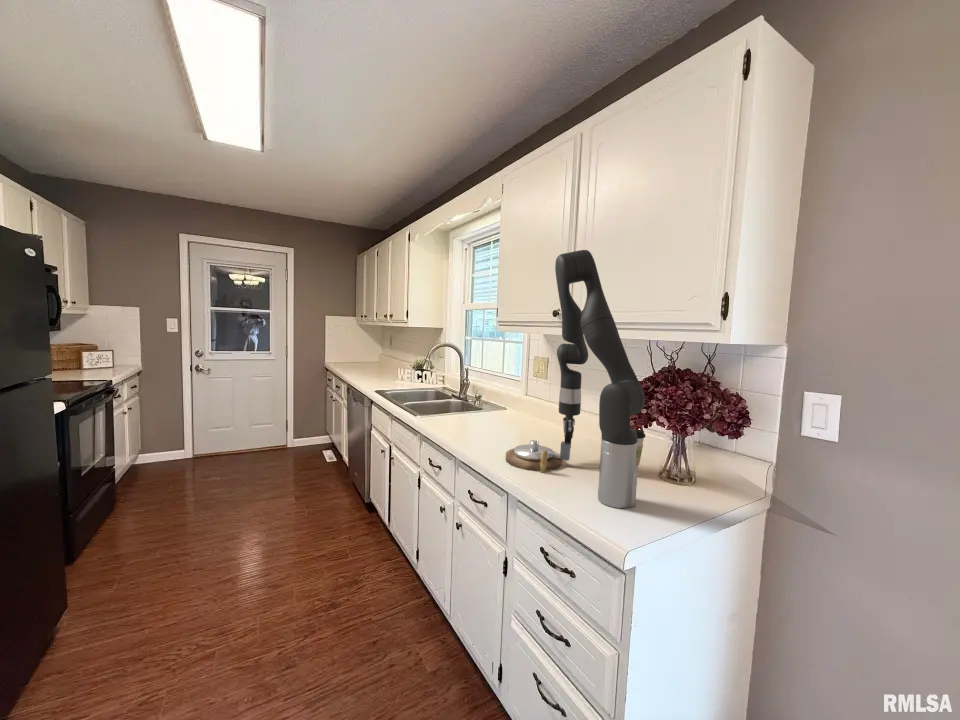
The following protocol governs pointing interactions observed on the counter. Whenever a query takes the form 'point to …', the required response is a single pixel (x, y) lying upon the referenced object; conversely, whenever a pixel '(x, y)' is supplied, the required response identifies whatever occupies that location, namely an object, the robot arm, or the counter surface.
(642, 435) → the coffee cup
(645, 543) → the counter surface
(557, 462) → the base
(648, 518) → the counter surface
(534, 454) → the flange plate
